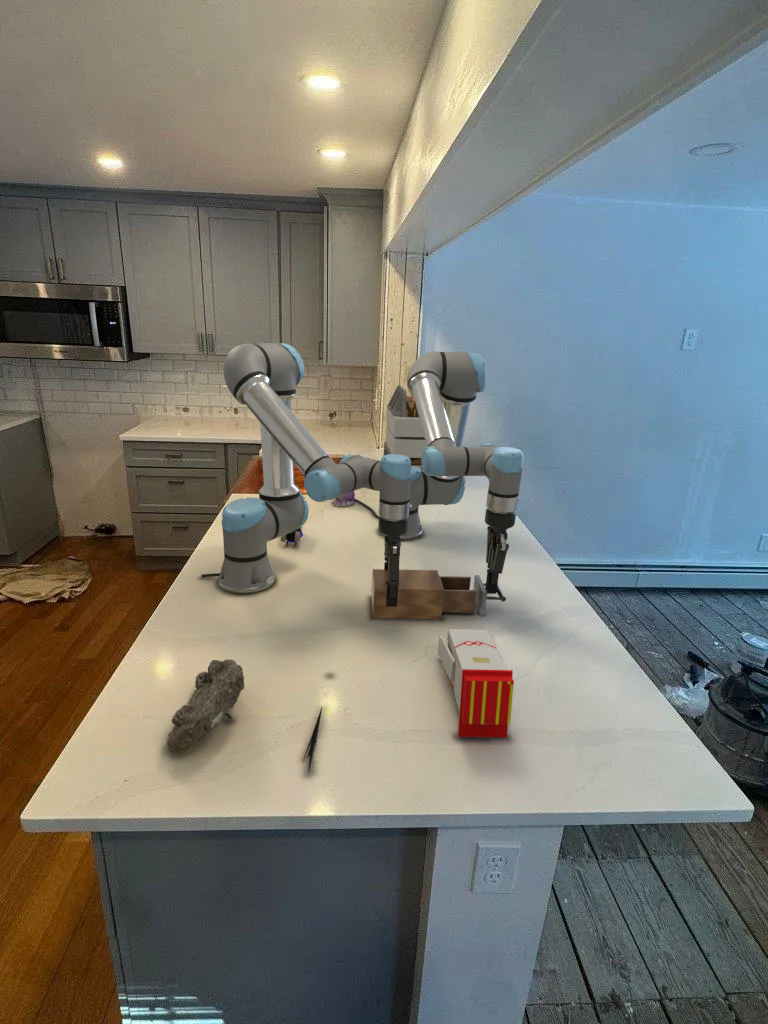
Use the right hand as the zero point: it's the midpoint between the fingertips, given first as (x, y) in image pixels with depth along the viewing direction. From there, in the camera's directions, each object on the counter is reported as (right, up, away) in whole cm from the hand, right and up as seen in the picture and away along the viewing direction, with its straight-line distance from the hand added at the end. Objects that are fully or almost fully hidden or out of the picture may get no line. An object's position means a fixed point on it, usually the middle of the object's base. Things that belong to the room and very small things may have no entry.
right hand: (490, 592), depth 151 cm
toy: (-10, -16, -32) cm, 38 cm away
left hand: (-27, 0, -2) cm, 27 cm away
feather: (-41, -18, -42) cm, 61 cm away
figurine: (-44, +25, +77) cm, 92 cm away
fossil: (-61, -18, -43) cm, 77 cm away
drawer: (-8, -4, +1) cm, 9 cm away
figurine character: (-59, +12, +39) cm, 72 cm away
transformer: (-11, +40, +124) cm, 131 cm away
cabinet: (-23, -4, 0) cm, 23 cm away
